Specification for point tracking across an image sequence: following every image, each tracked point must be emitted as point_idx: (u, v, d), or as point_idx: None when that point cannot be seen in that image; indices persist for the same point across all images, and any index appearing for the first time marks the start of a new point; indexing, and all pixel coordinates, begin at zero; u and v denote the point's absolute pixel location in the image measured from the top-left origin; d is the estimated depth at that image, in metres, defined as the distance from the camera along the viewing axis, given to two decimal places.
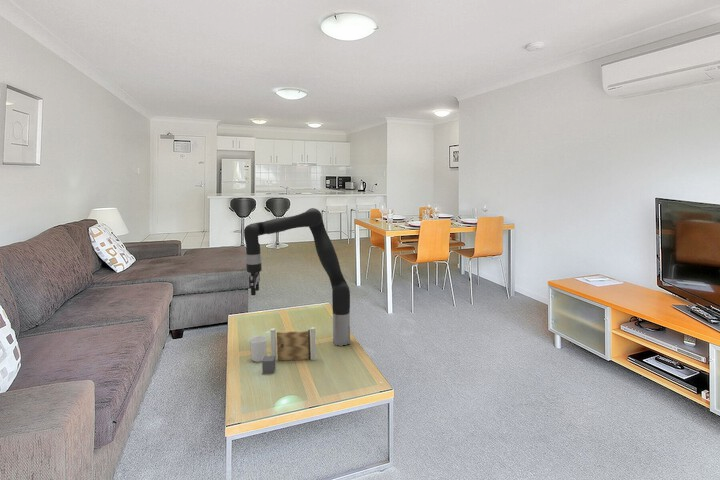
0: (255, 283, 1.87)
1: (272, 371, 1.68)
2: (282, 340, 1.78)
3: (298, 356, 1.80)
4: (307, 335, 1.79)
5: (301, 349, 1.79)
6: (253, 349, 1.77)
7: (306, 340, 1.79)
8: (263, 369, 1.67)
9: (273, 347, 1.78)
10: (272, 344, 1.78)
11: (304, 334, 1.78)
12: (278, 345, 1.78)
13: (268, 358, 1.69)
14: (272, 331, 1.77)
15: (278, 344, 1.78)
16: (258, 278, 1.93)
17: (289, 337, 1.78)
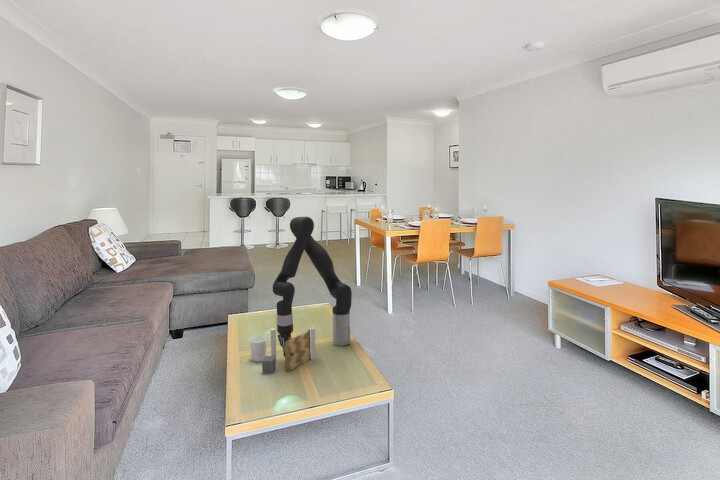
0: None
1: (272, 371, 1.67)
2: (290, 348, 1.69)
3: (302, 360, 1.76)
4: (308, 335, 1.78)
5: (304, 351, 1.77)
6: (253, 349, 1.77)
7: (308, 341, 1.78)
8: (263, 369, 1.67)
9: (273, 347, 1.78)
10: (272, 344, 1.78)
11: (306, 335, 1.77)
12: (287, 355, 1.68)
13: (268, 358, 1.69)
14: (272, 331, 1.77)
15: (287, 354, 1.68)
16: None
17: (296, 343, 1.72)
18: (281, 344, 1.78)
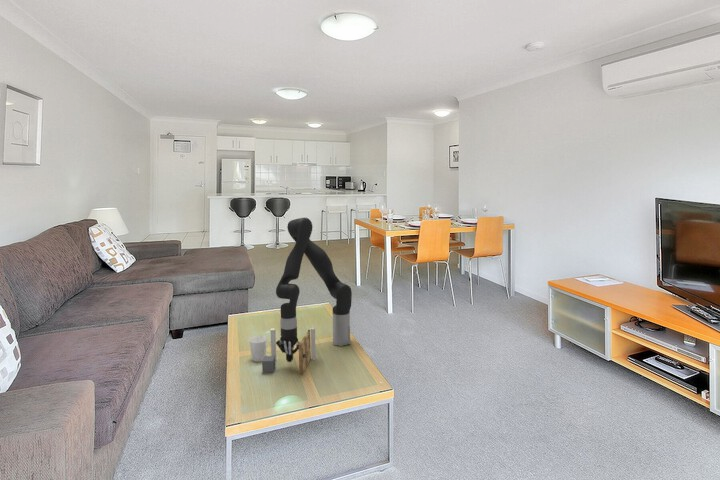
0: (293, 348, 1.72)
1: (272, 371, 1.67)
2: (303, 350, 1.67)
3: (307, 361, 1.75)
4: (309, 335, 1.78)
5: (308, 352, 1.76)
6: (253, 349, 1.77)
7: (309, 341, 1.78)
8: (263, 369, 1.67)
9: (273, 347, 1.78)
10: (272, 344, 1.78)
11: (309, 335, 1.77)
12: (301, 358, 1.65)
13: (268, 358, 1.69)
14: (272, 331, 1.77)
15: (301, 356, 1.65)
16: None
17: (305, 344, 1.70)
18: (283, 350, 1.71)
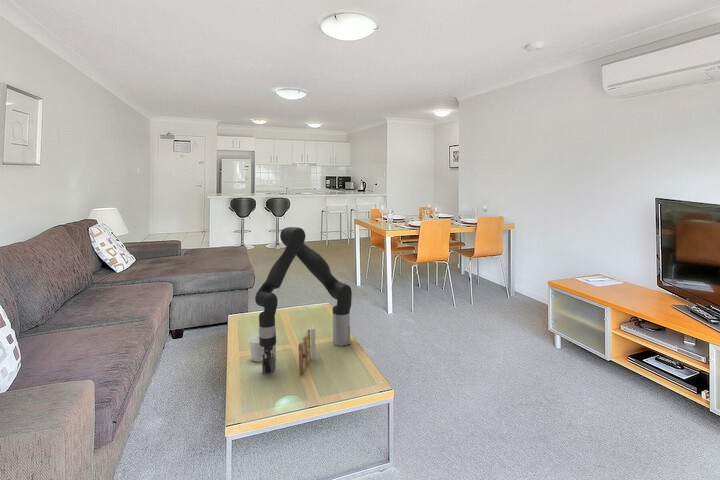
0: None
1: (272, 371, 1.67)
2: (303, 350, 1.67)
3: (307, 361, 1.75)
4: (309, 335, 1.78)
5: (308, 352, 1.76)
6: (253, 349, 1.77)
7: (309, 341, 1.78)
8: (263, 369, 1.67)
9: (273, 347, 1.78)
10: None
11: (309, 335, 1.77)
12: (301, 358, 1.65)
13: None
14: None
15: (301, 356, 1.65)
16: (272, 351, 1.70)
17: (305, 344, 1.70)
18: None
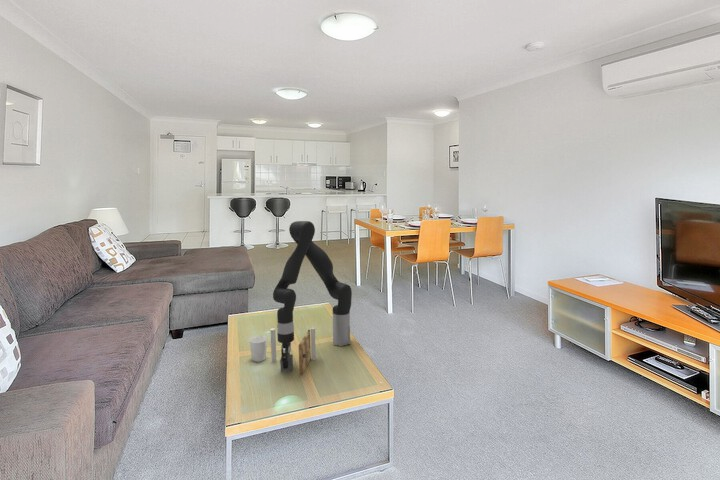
0: (287, 355, 1.66)
1: (290, 369, 1.69)
2: (303, 350, 1.67)
3: (307, 361, 1.75)
4: (309, 335, 1.78)
5: (308, 352, 1.76)
6: (253, 349, 1.77)
7: (309, 341, 1.78)
8: (281, 367, 1.69)
9: (273, 347, 1.78)
10: (272, 344, 1.78)
11: (309, 335, 1.77)
12: (301, 358, 1.65)
13: None
14: (272, 331, 1.77)
15: (301, 356, 1.65)
16: (290, 347, 1.72)
17: (305, 344, 1.70)
18: None
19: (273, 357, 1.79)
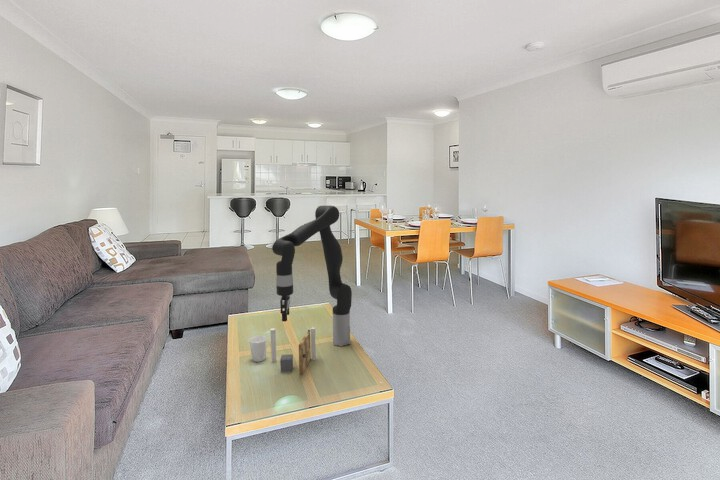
0: (287, 308, 1.65)
1: (290, 369, 1.69)
2: (303, 350, 1.67)
3: (307, 361, 1.75)
4: (309, 335, 1.78)
5: (308, 352, 1.76)
6: (253, 349, 1.77)
7: (309, 341, 1.78)
8: (281, 367, 1.69)
9: (273, 347, 1.78)
10: (272, 344, 1.78)
11: (309, 335, 1.77)
12: (301, 358, 1.65)
13: (286, 356, 1.71)
14: (272, 331, 1.77)
15: (301, 356, 1.65)
16: (289, 301, 1.71)
17: (305, 344, 1.70)
18: None
19: (273, 357, 1.79)
